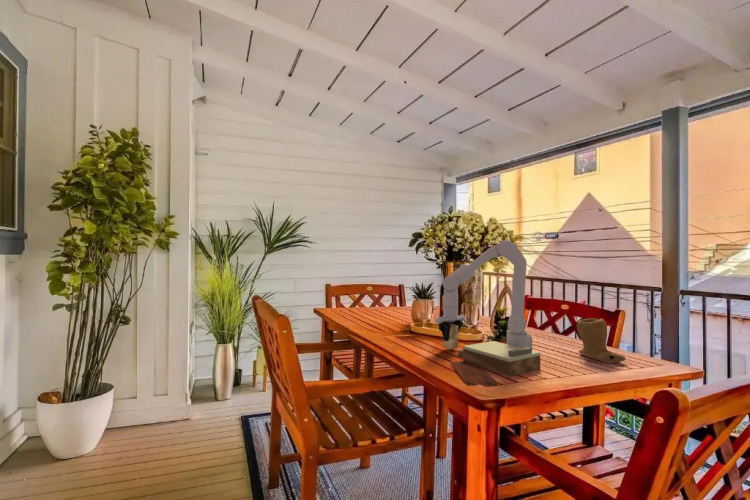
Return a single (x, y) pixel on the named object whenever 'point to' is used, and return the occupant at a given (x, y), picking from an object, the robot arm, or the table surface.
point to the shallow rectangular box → (501, 363)
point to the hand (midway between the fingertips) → (450, 340)
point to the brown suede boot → (596, 341)
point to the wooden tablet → (473, 374)
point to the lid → (502, 351)
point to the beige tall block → (452, 338)
